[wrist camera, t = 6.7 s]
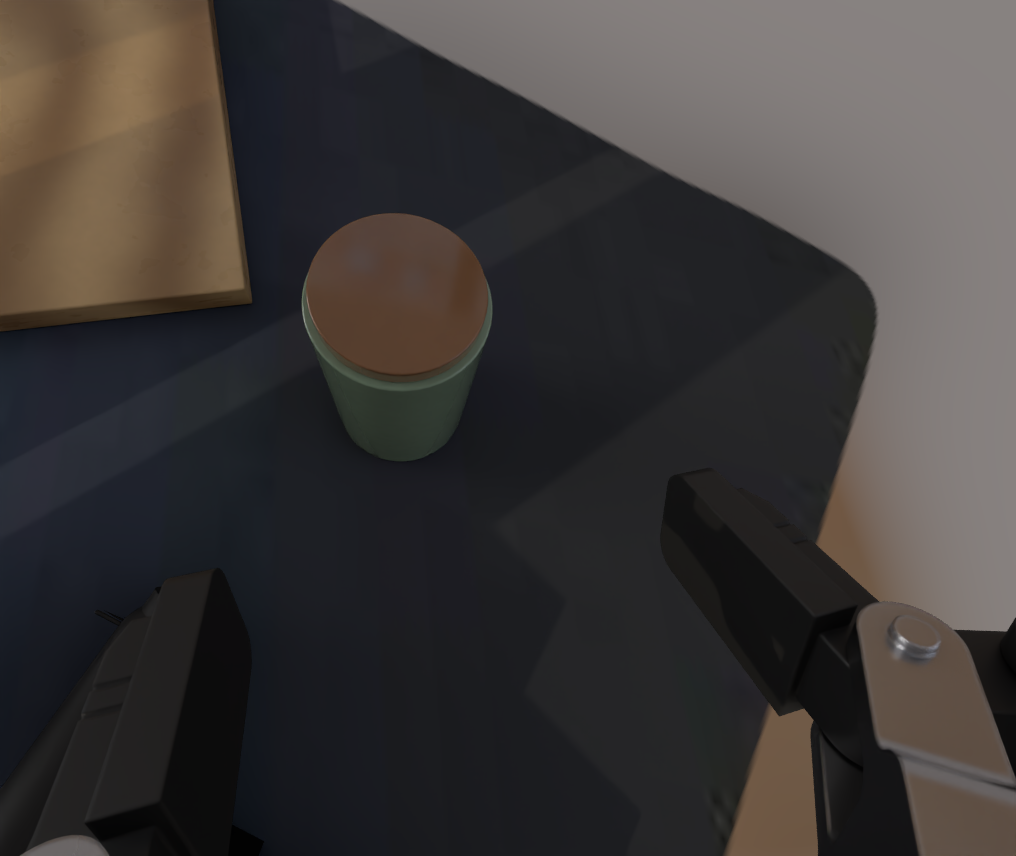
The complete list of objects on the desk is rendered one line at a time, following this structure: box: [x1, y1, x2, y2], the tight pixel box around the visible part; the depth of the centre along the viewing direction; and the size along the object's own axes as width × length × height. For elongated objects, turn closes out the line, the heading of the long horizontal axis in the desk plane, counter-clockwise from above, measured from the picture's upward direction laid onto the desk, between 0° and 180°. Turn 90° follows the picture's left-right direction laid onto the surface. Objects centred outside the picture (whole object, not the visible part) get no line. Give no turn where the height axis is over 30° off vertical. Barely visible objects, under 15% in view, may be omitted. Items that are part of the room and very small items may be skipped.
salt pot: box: [302, 213, 492, 461], centre depth 18 cm, size 5×5×9 cm
